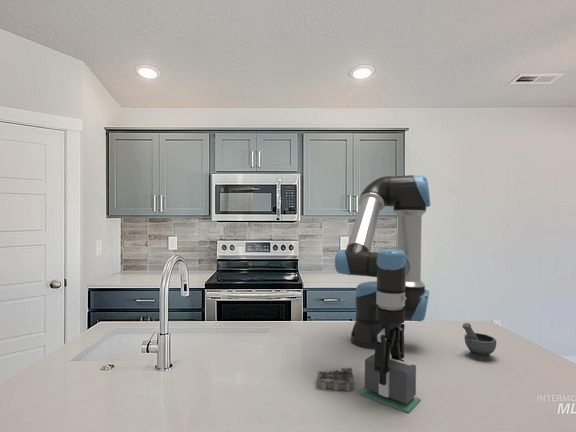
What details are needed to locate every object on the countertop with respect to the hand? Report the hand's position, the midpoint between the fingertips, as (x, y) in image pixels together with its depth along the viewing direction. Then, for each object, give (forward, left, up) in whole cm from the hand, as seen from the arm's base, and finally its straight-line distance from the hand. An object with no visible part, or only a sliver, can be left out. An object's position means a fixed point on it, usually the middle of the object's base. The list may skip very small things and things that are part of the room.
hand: (389, 390), depth 96 cm
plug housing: (0, 0, 0) cm, 0 cm away
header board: (0, 0, -2) cm, 2 cm away
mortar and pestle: (+11, +47, -2) cm, 48 cm away
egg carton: (-15, -4, -2) cm, 16 cm away
